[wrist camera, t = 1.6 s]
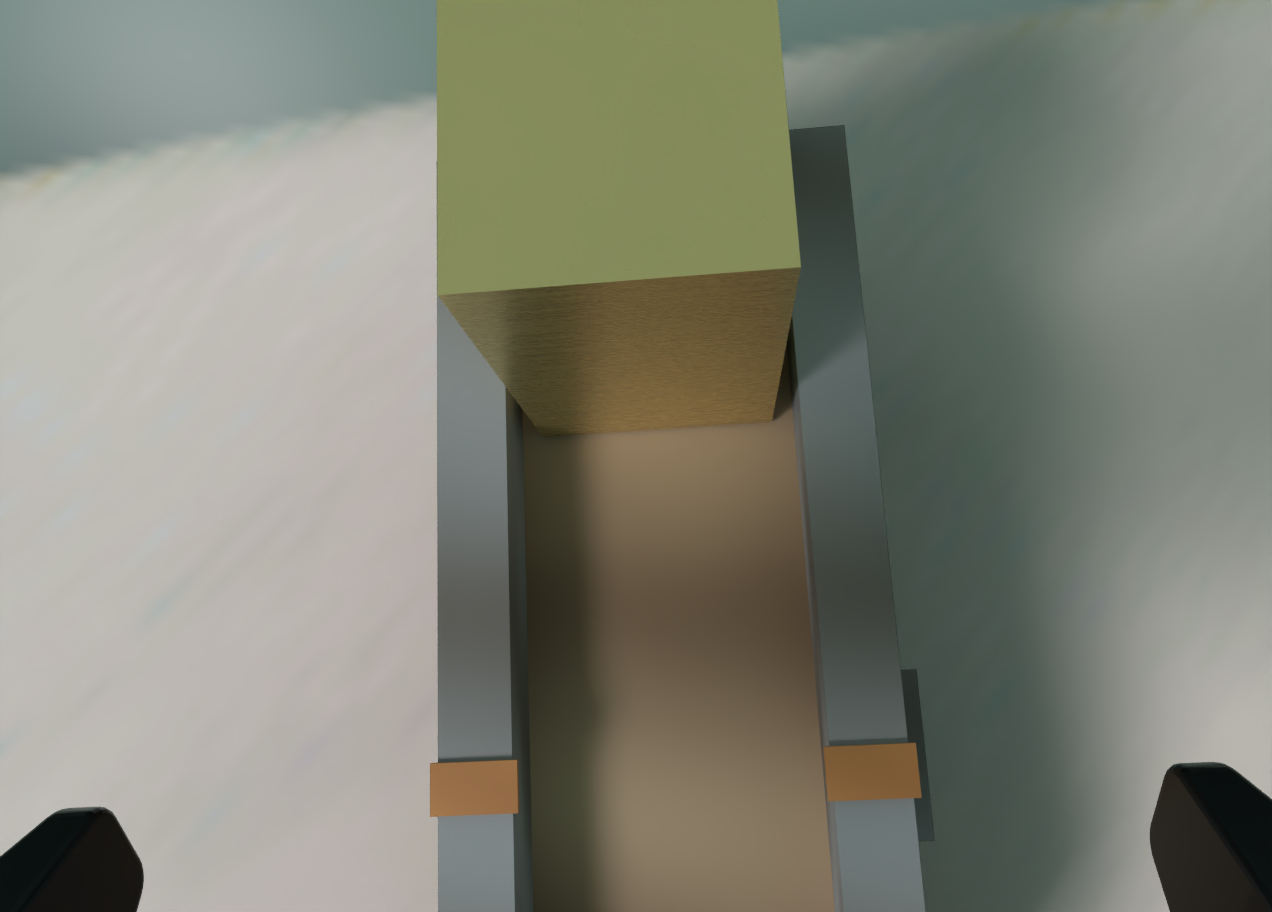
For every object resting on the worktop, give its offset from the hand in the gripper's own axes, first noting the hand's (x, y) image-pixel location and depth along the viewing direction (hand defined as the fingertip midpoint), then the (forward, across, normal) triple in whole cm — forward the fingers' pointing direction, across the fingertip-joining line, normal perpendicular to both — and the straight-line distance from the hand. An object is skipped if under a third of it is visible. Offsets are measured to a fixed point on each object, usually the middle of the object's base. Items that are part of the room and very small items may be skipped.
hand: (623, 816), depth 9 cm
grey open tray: (+10, 0, +8) cm, 13 cm away
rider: (+12, 0, +1) cm, 12 cm away
